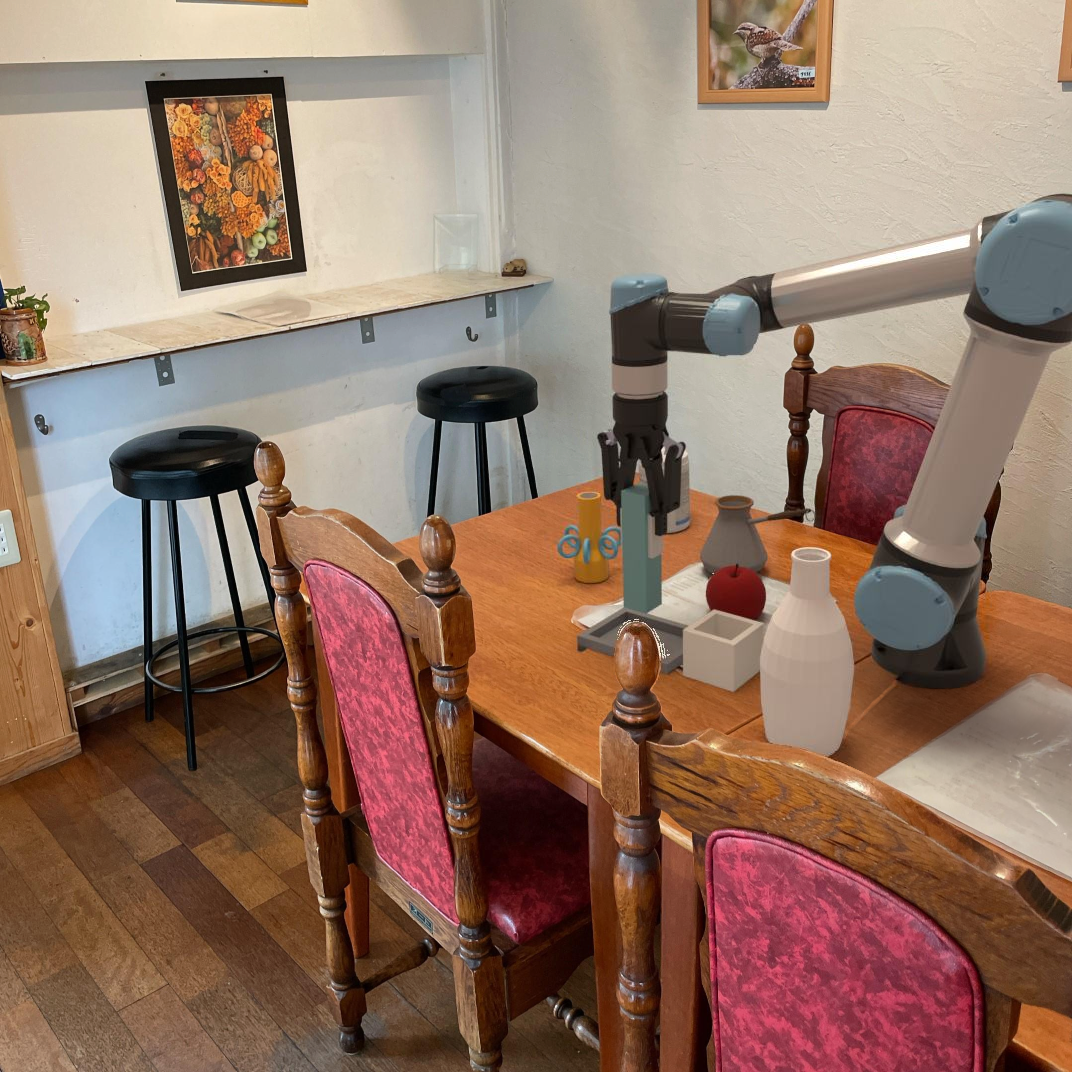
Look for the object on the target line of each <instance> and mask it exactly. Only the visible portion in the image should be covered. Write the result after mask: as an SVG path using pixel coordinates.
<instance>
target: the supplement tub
mask: <svg viewBox="0 0 1072 1072" xmlns="http://www.w3.org/2000/svg"><path fill="white" fill-rule="evenodd" d="M661 451H662V457H663V462H662V469H663V475H664V463H665V457H666V455H664V451H665V447H663V448H662V450H661ZM650 460H651V459H650ZM689 460H690V459H689V453H688V451H687V450H685V451H684V454H683V456H682V466H681V495H680V507H679V508H678V509H676V510H674V511H672V512H670V513H667V533H666V534H674V533H678V532H680V531H684V530H685V529H687V528H688V527H689V525H690V523H691V501H690V499H691V497H690V496H691V495H690V494H691V492H690V489H691V488H690V461H689ZM637 464H638V483H639V484H644V485H648V484H647V479H646V474H645V469H644V468H643V467H642V464H641V460H640V459H638V461H637Z"/></svg>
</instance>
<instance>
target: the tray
mask: <svg viewBox="0 0 1072 1072" xmlns="http://www.w3.org/2000/svg"><path fill="white" fill-rule="evenodd" d="M634 619H639V620H634ZM628 620H631V621H628ZM627 621H628V622H627ZM633 621H639V622H644V623H646V624H647V625H648V626H649V627H650V628H651V629H652V631H653V632H654V635H655V637H656V634H655V631H656V633H657V635H658V636H659V639H660V641H659V640H658V638H657V637H656V639H657V641H658V643H659V646H660V642H661V644H663V643H664V648H665V655H666V658H665V656H664V655H663V656H664V659H663V658H662V652H661V647H660V653H661V670H660V672H659V673H662V674H664V675H669V674H670V673H671V672H673V671H674V670H675V669H677V668H678V667H680V666H681V665H683V630H684V629H685V628H687V627H688V626H689V625H687V624H684V623H680V622H677V621H673V620H671V619H667V618H663V617H661V616H657V615H654V614H650V613H647V614H645V613H642V612H638V611H635V610H632V609H628V608H625V607H624V606H623V607H622V608H620V609H618V610H617V611H615V612H613V613H612V614H610V615H608V616H607V617H605V618H604V619H602V620H600V621H599V622H597V623H596V624H594V625H592V626H590V627H589V628H587V629H586V630H583V631H582V632H580V633H579V634H577V635H576V641H577V643H576V644H577V651H579V652H580V653H581V652H583V653H584V651H586V650H587V649H589V650H592V651H595V652H599V653H601V654H605V655H608V656H610V657H612V658H615V657H614V653H615V647H616V642H617V639H618V637H619V634H620V631H621V629H622V628H623V627H624V626H625V625H626V624H627V623H629V622H633ZM624 622H627V623H625V624H624V625H623V623H624ZM621 626H622V627H621ZM620 627H621V628H620ZM653 628H654V629H655V631H654V630H653ZM619 629H620V630H619ZM618 631H619V633H618ZM617 634H618V635H617ZM664 648H663V645H662V650H663V654H664ZM667 650H668V651H667ZM667 654H670V655H669V656H667Z"/></svg>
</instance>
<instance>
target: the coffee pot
mask: <svg viewBox="0 0 1072 1072" xmlns="http://www.w3.org/2000/svg"><path fill="white" fill-rule="evenodd" d="M714 501H715V502H714V504H715V506H716V507H717V510H718V513H717V516H716V518H715V520H714V523H713V524H712V527H711V528H710V531H709V533H708V535H707V538H706V540H705V542H704V544H703V546H702V548H701V550H700V554H699V558H700V560H701V563H702V565H703V566H704V567H705V569H707V571H709V572H710V573H711V572H712V573H714V574H715V573H716V572H717V571H718V570H720V569H722V568H724V567H727V566H733V565H734V566H736V564H738V565H739V567H745V568H748V569H750V570H752V571H754V572H756V573H757V574H758V572H759V571H760V570H762V569H763V568H764V567H765V565H766V564H767V561H768V552H767V551H766V548H765V545H764V543H763V541H762V539H761V537H760V533H759V531H758V529H757V527H756V524H759V523H763V522H769V521H770V522H771V521H778V520H786V519H790V518H793V517H796V516H797V517H801V516H802V515H805V519H806V521H808V522H813V521H814V520H815V519H816V512H815V511H814V510H813V509H811V508H803V509H801V508H797V509H796V510H784V511H782V512H781V511H780V512H777V513H773V514H769V515H767V516H762V517H761V516H760V517H755V518H754V517H753V518H752V515H751V513H750V511H751V509H752V508H751V507H752V506H754V503H755V501H754V499H752V498H751V497H749V496H746V495H739V494H738V495H736V494H735V495H734V494H731V495H724V496H721V497H718V498H716V499H715V500H714ZM811 512H812V513H813V519H812V520H810V519H808V515H807V514H809V513H811ZM712 573H711V574H712Z"/></svg>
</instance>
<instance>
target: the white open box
mask: <svg viewBox="0 0 1072 1072" xmlns="http://www.w3.org/2000/svg"><path fill="white" fill-rule="evenodd" d="M764 636H765V622H761V621H759V620H755V621H754V620H751V619H747V618H743V617H740V616H736V615H733V614H729V613H725V612H722V611H718V610H712V611H711V610H710V611H709V612H707V613H706V614H704V615H703V616H701V618H698V619H697V620H696V621H694V622H693V623H691V624H690V625H688V627H687V628H685V629H684V630H683V664H682V676H684V677H687V678H689V679H693V680H696V681H699V682H702V683H704V684H708V685H710V686H713V687H717V688H720V689H723V690H726V691H730V692H733V693H734V692H736V690H738V689H739V688H740V687H742V686H744V684H746V683H747V682H748V681H749V680H751V679H752V678H753V677H754V676H755V675H757V674H758V673H760V655H761V650H762V645H763V640H764Z"/></svg>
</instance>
